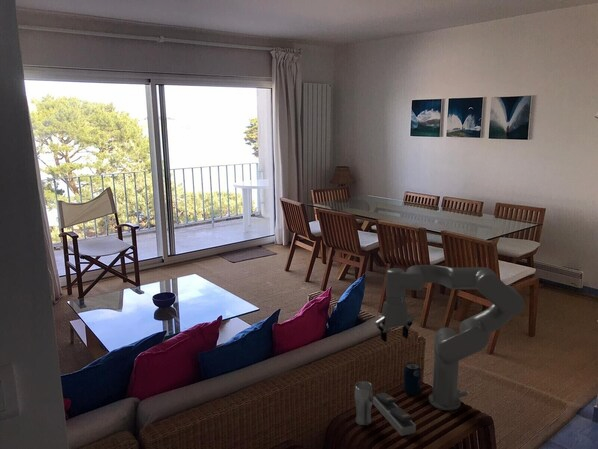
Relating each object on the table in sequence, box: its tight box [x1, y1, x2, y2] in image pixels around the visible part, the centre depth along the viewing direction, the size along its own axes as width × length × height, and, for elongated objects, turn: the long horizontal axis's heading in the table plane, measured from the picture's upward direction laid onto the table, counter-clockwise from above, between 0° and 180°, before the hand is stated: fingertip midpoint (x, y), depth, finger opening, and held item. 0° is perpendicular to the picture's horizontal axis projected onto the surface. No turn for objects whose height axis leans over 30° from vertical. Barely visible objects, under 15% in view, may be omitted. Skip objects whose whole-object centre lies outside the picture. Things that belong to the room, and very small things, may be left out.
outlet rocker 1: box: [375, 392, 398, 404], centre depth 192 cm, size 4×10×1 cm, turn 18°
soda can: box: [403, 362, 422, 396], centre depth 205 cm, size 7×7×12 cm
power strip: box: [372, 395, 417, 437], centre depth 187 cm, size 23×6×3 cm, turn 18°
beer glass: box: [354, 380, 374, 426], centre depth 184 cm, size 7×7×15 cm
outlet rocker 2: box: [390, 406, 414, 422], centre depth 181 cm, size 4×10×1 cm, turn 18°
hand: (394, 339), depth 196 cm, fingers open, 9 cm apart
